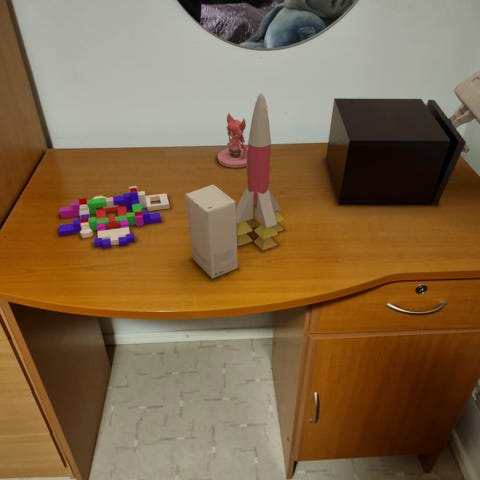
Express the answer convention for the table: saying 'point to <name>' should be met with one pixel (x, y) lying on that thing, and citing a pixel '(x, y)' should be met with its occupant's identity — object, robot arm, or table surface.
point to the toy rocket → (258, 185)
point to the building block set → (124, 219)
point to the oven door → (453, 151)
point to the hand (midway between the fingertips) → (450, 124)
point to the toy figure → (234, 145)
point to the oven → (385, 151)
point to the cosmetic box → (213, 230)
